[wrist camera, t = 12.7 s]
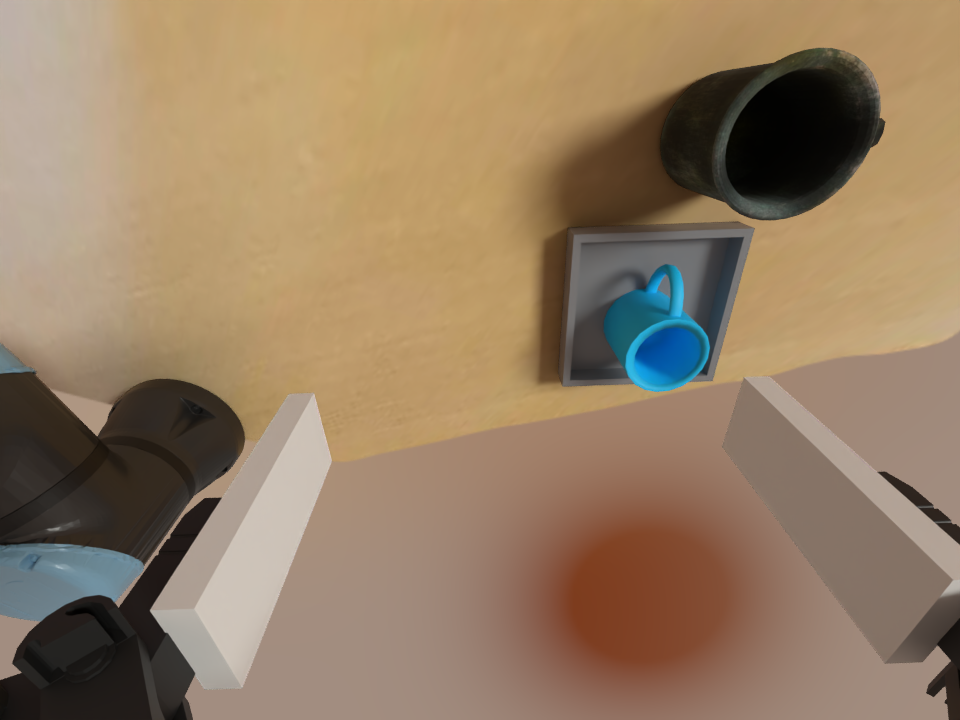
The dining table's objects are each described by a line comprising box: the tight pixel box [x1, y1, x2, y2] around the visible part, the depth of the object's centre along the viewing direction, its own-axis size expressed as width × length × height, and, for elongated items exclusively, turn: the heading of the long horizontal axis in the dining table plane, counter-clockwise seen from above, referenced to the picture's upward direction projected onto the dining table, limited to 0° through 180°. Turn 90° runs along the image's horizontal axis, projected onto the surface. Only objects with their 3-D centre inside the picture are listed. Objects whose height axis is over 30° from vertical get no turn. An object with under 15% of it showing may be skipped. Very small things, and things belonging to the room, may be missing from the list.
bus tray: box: [558, 222, 755, 387], centre depth 48 cm, size 18×18×3 cm
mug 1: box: [603, 264, 710, 392], centre depth 45 cm, size 12×8×8 cm
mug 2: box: [660, 48, 885, 220], centre depth 36 cm, size 11×15×12 cm
